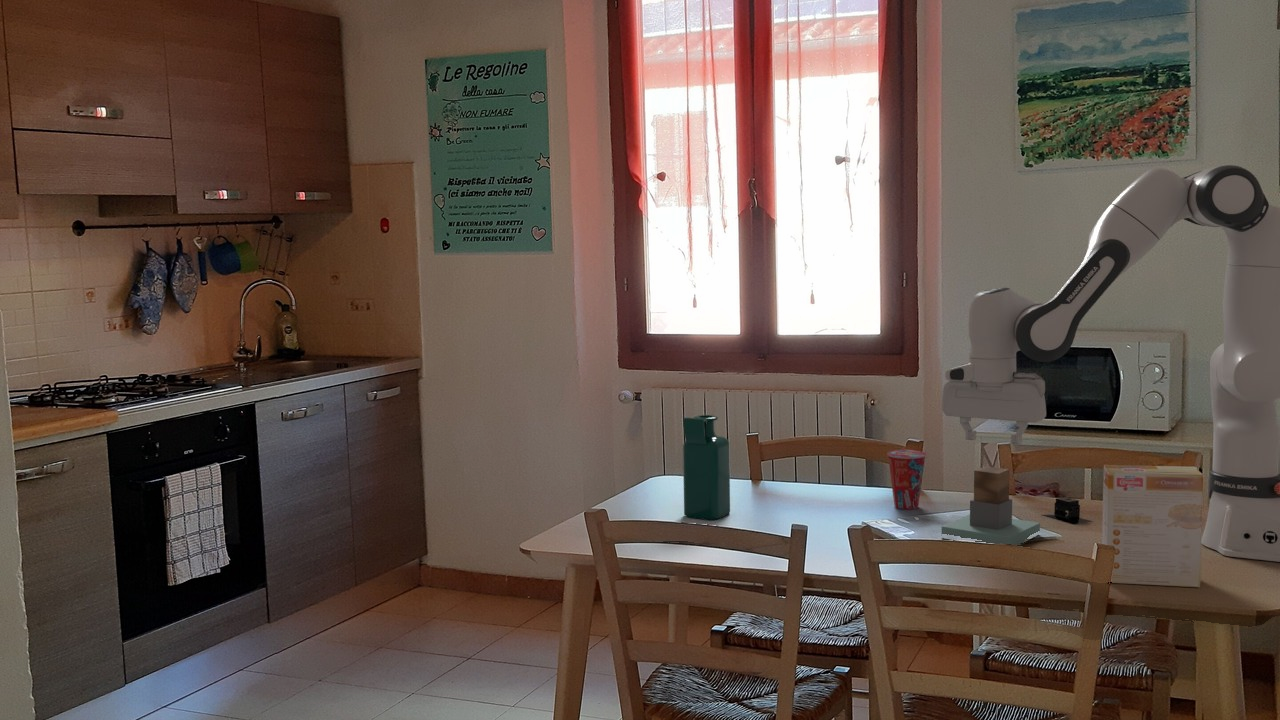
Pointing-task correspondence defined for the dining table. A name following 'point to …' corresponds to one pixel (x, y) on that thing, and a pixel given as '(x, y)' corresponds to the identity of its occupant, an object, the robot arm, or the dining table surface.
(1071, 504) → the black rectangular block
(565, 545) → the dining table surface
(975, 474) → the walnut block
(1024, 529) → the base slab
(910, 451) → the cup
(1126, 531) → the coffeecake box
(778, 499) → the dining table surface
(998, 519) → the charcoal block
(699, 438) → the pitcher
